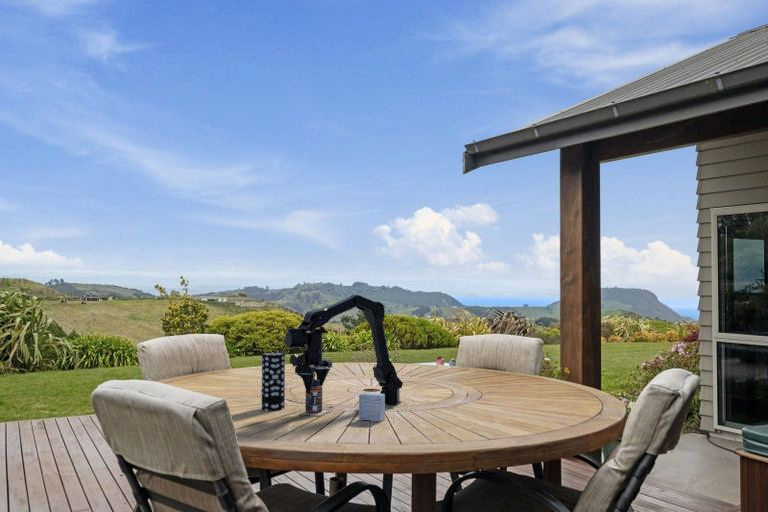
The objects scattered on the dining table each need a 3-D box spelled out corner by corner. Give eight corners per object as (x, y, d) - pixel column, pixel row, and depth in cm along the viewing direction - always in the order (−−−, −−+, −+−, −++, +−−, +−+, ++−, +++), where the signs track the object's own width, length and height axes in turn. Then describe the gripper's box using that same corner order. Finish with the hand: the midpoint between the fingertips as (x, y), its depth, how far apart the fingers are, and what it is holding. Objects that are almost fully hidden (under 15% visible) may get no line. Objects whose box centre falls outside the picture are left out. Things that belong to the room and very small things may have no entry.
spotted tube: (288, 407, 227) (289, 353, 228) (275, 411, 219) (276, 355, 220) (270, 405, 230) (270, 352, 231) (256, 409, 223) (257, 354, 224)
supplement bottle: (319, 414, 213) (319, 381, 213) (303, 413, 214) (303, 380, 214) (324, 410, 219) (324, 378, 219) (308, 410, 220) (308, 378, 220)
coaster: (328, 412, 219) (328, 410, 219) (319, 416, 211) (319, 415, 211) (308, 410, 221) (308, 409, 221) (298, 415, 214) (298, 413, 214)
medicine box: (385, 419, 207) (385, 393, 207) (380, 422, 203) (380, 395, 203) (363, 417, 209) (363, 392, 210) (358, 420, 205) (358, 394, 206)
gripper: (305, 343, 229) (305, 385, 228) (281, 348, 211) (281, 393, 210) (332, 344, 225) (332, 387, 224) (310, 349, 208) (310, 395, 207)
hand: (314, 390), depth 217 cm, fingers open, 9 cm apart
